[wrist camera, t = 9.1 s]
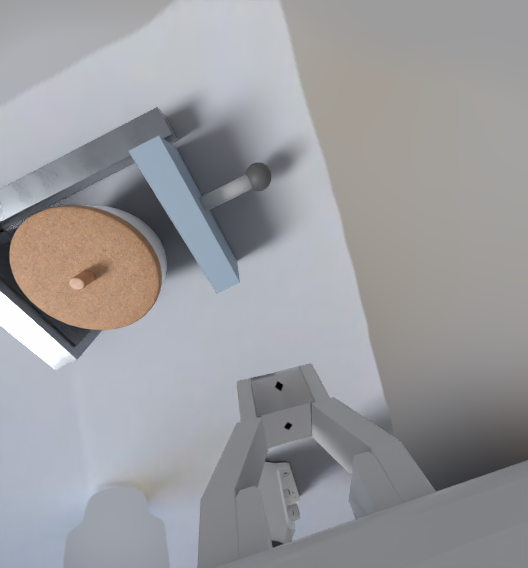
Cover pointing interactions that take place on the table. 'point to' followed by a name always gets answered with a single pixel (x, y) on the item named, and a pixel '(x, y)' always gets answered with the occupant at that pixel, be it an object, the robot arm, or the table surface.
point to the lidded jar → (89, 265)
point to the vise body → (42, 193)
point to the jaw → (196, 206)
